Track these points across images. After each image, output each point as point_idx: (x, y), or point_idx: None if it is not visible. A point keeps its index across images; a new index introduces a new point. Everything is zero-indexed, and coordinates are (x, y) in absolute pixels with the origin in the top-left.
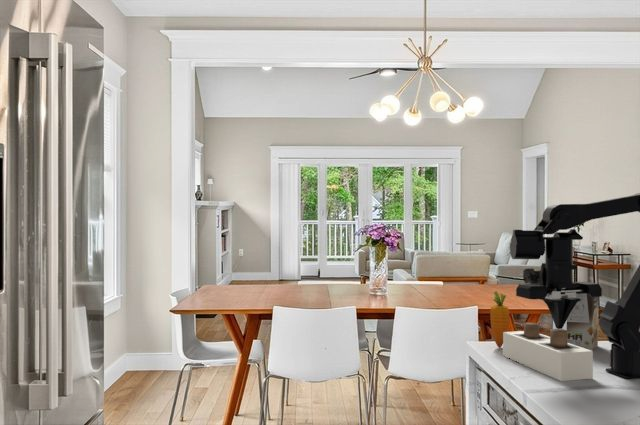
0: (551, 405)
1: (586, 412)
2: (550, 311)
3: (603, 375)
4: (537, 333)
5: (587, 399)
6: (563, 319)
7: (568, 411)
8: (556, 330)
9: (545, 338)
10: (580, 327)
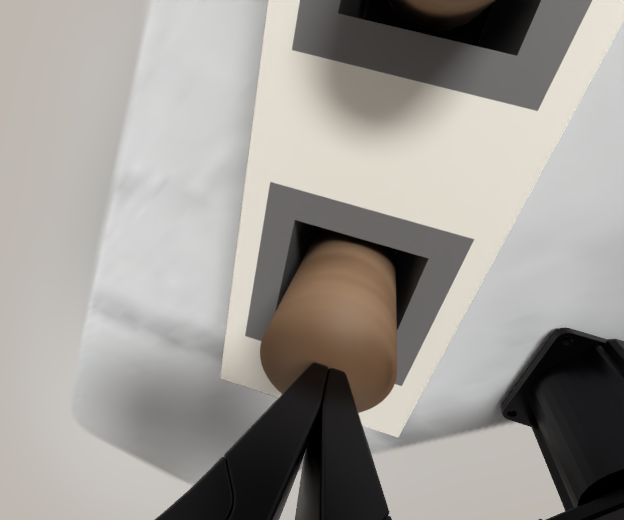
0: (98, 385)
1: (143, 437)
2: (200, 485)
3: (481, 345)
4: (455, 7)
5: (206, 411)
6: (297, 502)
7: (112, 417)
8: (300, 359)
9: (487, 81)
10: None
